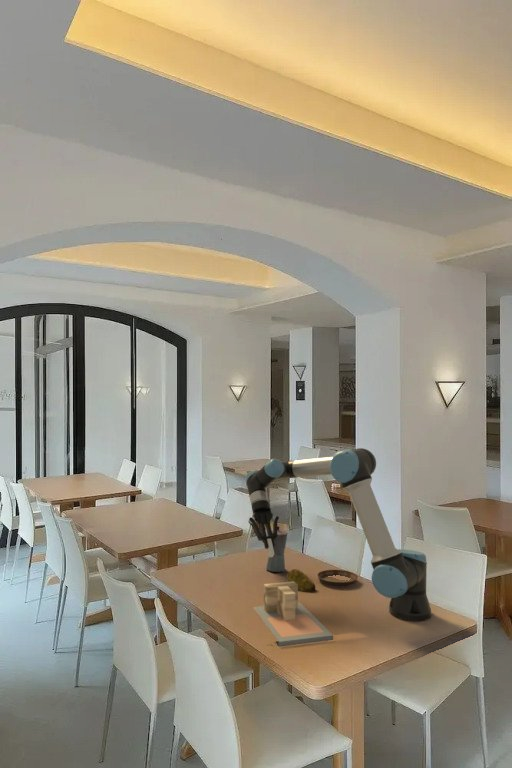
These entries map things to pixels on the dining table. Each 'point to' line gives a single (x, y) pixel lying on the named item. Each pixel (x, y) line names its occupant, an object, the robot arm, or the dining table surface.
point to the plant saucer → (336, 582)
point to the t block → (281, 599)
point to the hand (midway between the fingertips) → (271, 555)
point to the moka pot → (278, 552)
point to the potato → (301, 580)
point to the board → (294, 627)
